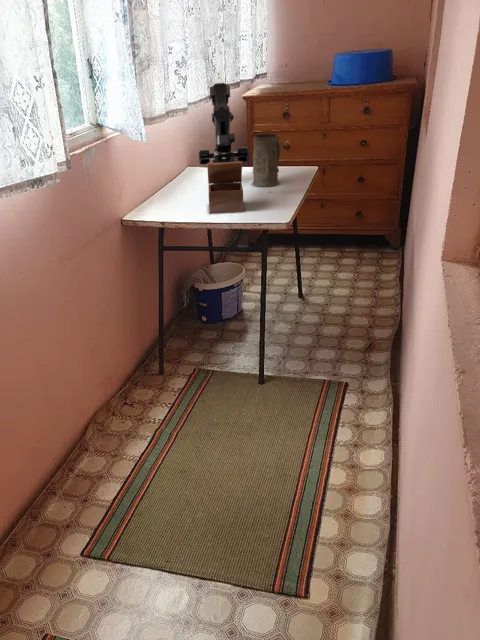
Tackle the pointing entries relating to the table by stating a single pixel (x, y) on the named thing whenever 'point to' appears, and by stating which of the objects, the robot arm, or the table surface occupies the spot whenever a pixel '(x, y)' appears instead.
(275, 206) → the table surface
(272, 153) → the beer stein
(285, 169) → the table surface
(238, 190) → the walnut box
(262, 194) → the table surface
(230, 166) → the lid
